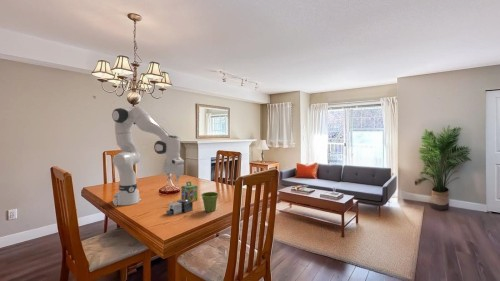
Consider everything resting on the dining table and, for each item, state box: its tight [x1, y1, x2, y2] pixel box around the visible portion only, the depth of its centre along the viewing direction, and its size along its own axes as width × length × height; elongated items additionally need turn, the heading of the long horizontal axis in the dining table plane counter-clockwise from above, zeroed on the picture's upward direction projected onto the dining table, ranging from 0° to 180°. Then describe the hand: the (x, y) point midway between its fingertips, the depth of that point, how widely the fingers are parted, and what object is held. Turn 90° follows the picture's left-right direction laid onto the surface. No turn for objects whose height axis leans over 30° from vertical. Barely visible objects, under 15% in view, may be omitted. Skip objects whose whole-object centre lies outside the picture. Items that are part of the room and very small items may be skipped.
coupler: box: [165, 199, 194, 216], centre depth 158 cm, size 10×16×7 cm, turn 139°
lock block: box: [168, 201, 183, 216], centre depth 156 cm, size 6×6×6 cm
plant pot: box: [200, 191, 220, 213], centre depth 160 cm, size 12×12×11 cm
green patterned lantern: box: [180, 180, 198, 202], centre depth 183 cm, size 9×9×15 cm
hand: (172, 180), depth 157 cm, fingers open, 8 cm apart
